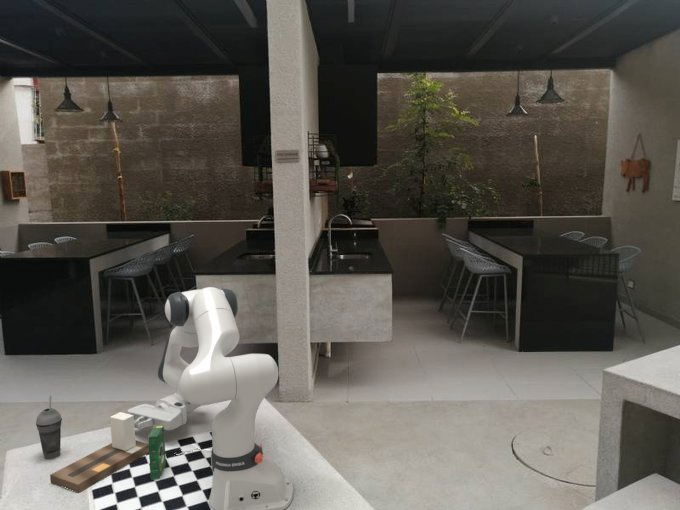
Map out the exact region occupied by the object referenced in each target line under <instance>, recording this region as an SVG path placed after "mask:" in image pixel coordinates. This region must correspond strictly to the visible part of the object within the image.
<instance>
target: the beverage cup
mask: <svg viewBox="0 0 680 510" xmlns="http://www.w3.org/2000/svg"><path fill="white" fill-rule="evenodd" d="M48 401H49V403H48V408H44V409H42V410H41V412H39V414H38V415H37V417H36V423H35V426H36V428H37V431H38V436H39V440H40V445H41V450H42V454H43V458H44V460H49V461H51V460H54V459H57V458H58V457H60V456H61V443H62V442H61V440H62V439H61V437H62V436H61V433H62V432H61V427H62V421H63V419H62V415H61V413H60V412H59V411H58V410H57V409H55V408H52V395H49V399H48Z"/></svg>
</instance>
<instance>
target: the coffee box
mask: <svg viewBox="0 0 680 510" xmlns="http://www.w3.org/2000/svg"><path fill="white" fill-rule="evenodd" d="M165 440H166V439H165V429H164V426H163V425H158V426H155V427H153V428H152V429H151V431H150V433H149V434H148V436H147V443H148V445H149V453H148V458H149V475H150V480H153V481H154V480H159V479H161V477H162V474H163V473H164V471H165V469H166V467H167V460H166V459H167V456H166V454H167V453H166V441H165Z"/></svg>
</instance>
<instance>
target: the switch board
mask: <svg viewBox="0 0 680 510" xmlns="http://www.w3.org/2000/svg"><path fill="white" fill-rule="evenodd" d="M135 440H136V439H135ZM147 454H149V445H148V442H144V441H140V440H136V446H134V447H132V448H130V449H128V450H127V451H124V450H121V449H117V448H114V447H112V442H111V443H109V444H107V445H105V446H103V447H101V448H99V449H97V450H95V451H93V452H91V453H90V454H87V455H85V456H83V457H81V458H79V459H78V460H76V461H75V462H72V463H70V464H68V465H67V466H65V467H63V468H61V469H58V470H57V471H54V472H53V473H51V474H49V477H50V478H49V479H50V484H52V483H54V484H53V485H55V484H57V485H56V486H58V485H60V486H59V487H61V486H63V487H66V488H68V489H67V490H69V489H71V490H70V491H72V490H73V491H72V492H74V491H76V492H75V493H77V492H80V493H82V492H83V491H85V490H87V489H88V488H89V487H91V486H93V485H96V484H97V483H99V482H101V481H102V480H104V479H105V478H107V477H109V476H110V475H113V474H114V473H115V472H117V470H118V471H119V470H121V469H123V468H125V467H126V466H128V465H130V464H131V463H133V462H135V461H137V460H139V459H140V458H141V457H143V456H145V455H147ZM63 487H62V488H63ZM66 488H65V489H66Z"/></svg>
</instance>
